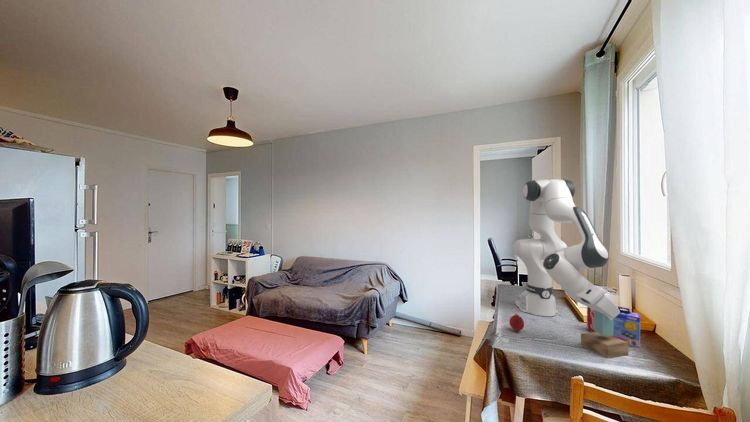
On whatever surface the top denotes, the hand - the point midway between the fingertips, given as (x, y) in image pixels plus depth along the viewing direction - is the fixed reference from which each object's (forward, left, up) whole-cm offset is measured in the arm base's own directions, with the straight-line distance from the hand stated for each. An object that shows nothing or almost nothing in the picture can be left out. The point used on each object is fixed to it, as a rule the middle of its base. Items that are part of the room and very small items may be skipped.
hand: (605, 315), depth 106 cm
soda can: (-17, +9, -14) cm, 24 cm away
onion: (-15, -27, -14) cm, 33 cm away
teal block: (0, -1, -7) cm, 7 cm away
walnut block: (0, -1, -14) cm, 14 cm away
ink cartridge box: (-8, +13, -14) cm, 21 cm away
